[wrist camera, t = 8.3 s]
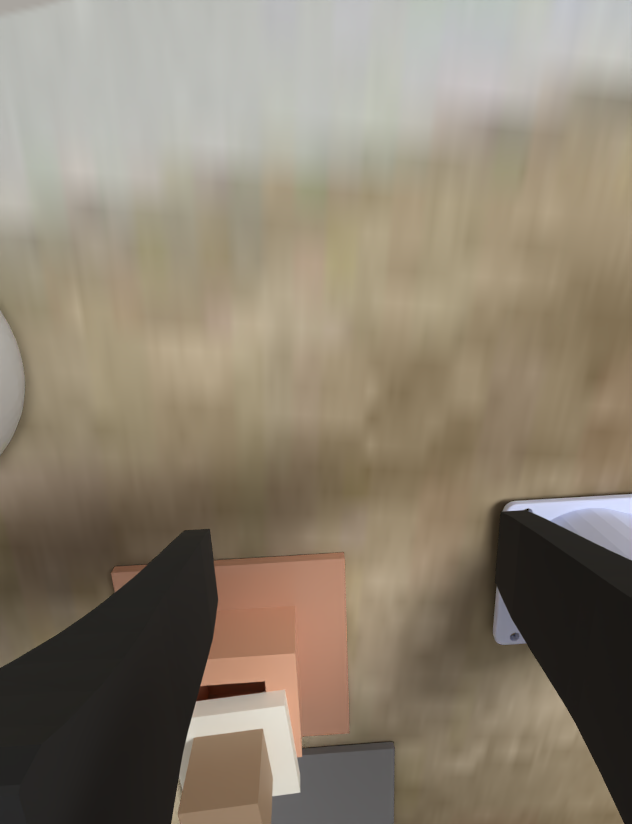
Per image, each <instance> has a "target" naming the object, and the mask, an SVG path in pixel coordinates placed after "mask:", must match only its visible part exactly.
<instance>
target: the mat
mask: <svg viewBox="0 0 632 824" xmlns="http://www.w3.org/2000/svg"><path fill="white" fill-rule="evenodd" d="M394 756H395V748H394V743H393V742H382V743H368V744H355V745H341V746H328V747H315V748H302V757H297V760H298V765H299V771H300V793H294V794H286V795H279V796H272V816H271V824H394Z"/></svg>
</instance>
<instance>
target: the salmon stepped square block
mask: <svg viewBox="0 0 632 824" xmlns="http://www.w3.org/2000/svg"><path fill="white" fill-rule="evenodd" d="M146 566H147V565H132V566H116V567H114V569H113V571H112V572H111V575H112V581H113V586H114V591H115V592H116V591H117V590H119V589H120V588H121V587H122V586H124V585H125V584H126V583H127V582H128V581H130V580H131V579H132V578H133V577H134V576H136V575H137V574H138V573H139V572H140V571H141V570H142V569H143V568H144V567H146ZM214 568H215V576H216V584H217V593H218V606H217V614H216V621H215V628H214V635H213V640H212V644H211V648H210V652H209V656H208V659H207V663H206V667H205V671H204V674H203V678H202V682H201V685H200V689H199V693H198V697H197V700H196V701H202V700H210V699H217V698H225V697H233V696H240V695H248V694H255V693H263V692H271V691H278V690H285V692H286V698H287V704H288V709H289V715H290V720H291V726H292V732H293V737H294V743H295V749H296V754H297V757H302V737H304V736H317V735H331V734H345V733H349V696H348V660H347V623H346V587H345V557H344V552H342V553H326V554H310V555H293V556H277V557H261V558H245V559H229V560H214Z"/></svg>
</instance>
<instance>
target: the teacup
mask: <svg viewBox="0 0 632 824" xmlns="http://www.w3.org/2000/svg"><path fill="white" fill-rule="evenodd" d="M24 395H25V374H24V368H23V363H22V358H21V354H20V350H19V347H18V344H17V341H16V339H15V337H14V335H13V332H12V330H11V328H10V326H9V324H8V322H7V320H6V319H5V317H4V315H3V314H2V312H1V311H0V455H1V454H2V453H3V451H4V450H5V448H6V447H7V445H8V444H9V442H10V441H11V439H12V437H13V435H14V433H15V430H16V428H17V425H18V423H19V420H20V417H21V414H22V410H23V404H24Z"/></svg>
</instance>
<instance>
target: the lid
mask: <svg viewBox="0 0 632 824" xmlns="http://www.w3.org/2000/svg"><path fill="white" fill-rule="evenodd" d="M179 780H180V783H181V787H182V796H181V800H180V805H179V810H178V818H179V821H180V824H271V816H272V796H279V795H286V794H294V793H300V771H299V765H298V760H297V754H296V749H295V743H294V737H293V732H292V726H291V720H290V715H289V709H288V704H287V698H286V692H285V690H278V691H271V692H263V693H255V694H248V695H240V696H233V697H225V698H217V699H210V700H202V701H196V704H195V708H194V711H193V715H192V719H191V722H190V726H189V730H188V734H187V738H186V742H185V747H184V751H183V756H182V762H181V767H180V773H179Z"/></svg>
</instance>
